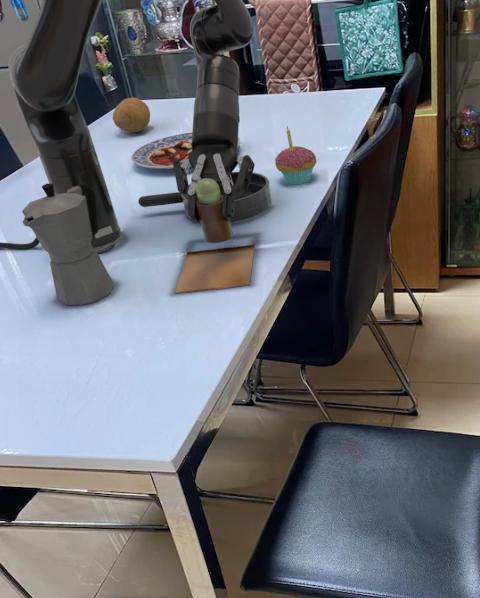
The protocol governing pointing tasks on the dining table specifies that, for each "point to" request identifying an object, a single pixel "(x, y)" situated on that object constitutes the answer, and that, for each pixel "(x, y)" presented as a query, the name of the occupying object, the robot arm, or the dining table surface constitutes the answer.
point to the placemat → (216, 269)
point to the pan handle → (160, 199)
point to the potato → (131, 115)
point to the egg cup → (212, 212)
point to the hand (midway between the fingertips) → (210, 219)
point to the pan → (246, 197)
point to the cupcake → (295, 163)
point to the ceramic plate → (164, 151)
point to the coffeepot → (70, 243)
